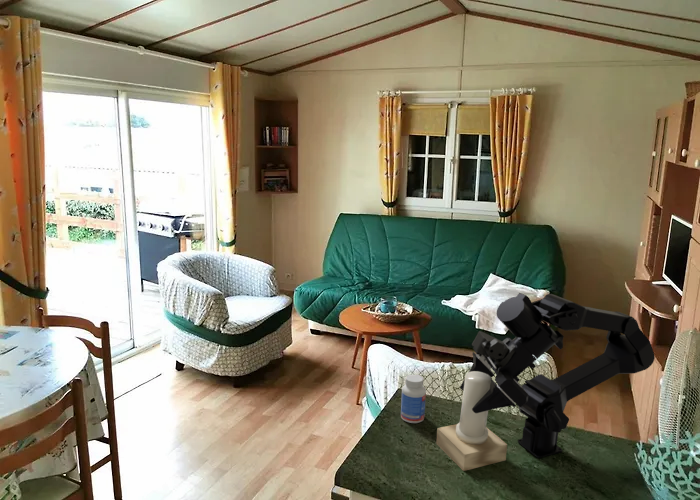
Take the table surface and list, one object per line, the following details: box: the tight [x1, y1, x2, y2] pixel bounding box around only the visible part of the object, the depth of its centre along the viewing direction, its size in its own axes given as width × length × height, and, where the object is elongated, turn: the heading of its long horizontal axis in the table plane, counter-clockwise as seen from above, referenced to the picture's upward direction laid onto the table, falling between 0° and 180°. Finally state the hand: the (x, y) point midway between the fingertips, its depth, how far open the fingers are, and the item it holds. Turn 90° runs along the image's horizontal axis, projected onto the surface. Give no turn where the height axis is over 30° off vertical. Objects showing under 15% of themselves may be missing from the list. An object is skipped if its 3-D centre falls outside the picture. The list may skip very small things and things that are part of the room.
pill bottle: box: [400, 374, 427, 424], centre depth 122 cm, size 6×5×10 cm
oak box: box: [436, 423, 508, 472], centre depth 110 cm, size 10×10×4 cm
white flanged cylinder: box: [456, 371, 493, 445], centre depth 108 cm, size 6×6×13 cm
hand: (467, 399), depth 108 cm, fingers open, 9 cm apart
